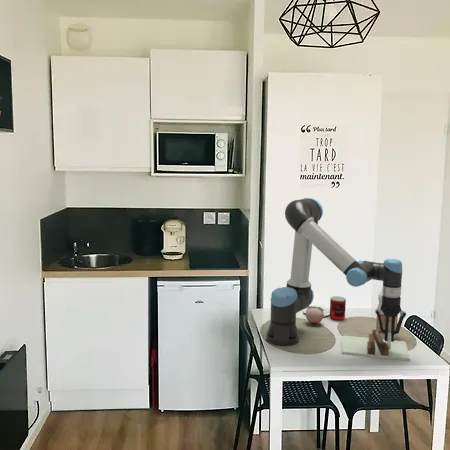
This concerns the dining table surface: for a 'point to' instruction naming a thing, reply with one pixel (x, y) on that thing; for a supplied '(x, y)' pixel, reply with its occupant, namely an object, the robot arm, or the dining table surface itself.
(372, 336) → the tongs fixed
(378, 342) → the arm
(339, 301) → the canned food
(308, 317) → the decorative fruit
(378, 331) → the fruit juice
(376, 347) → the board
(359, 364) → the dining table surface
